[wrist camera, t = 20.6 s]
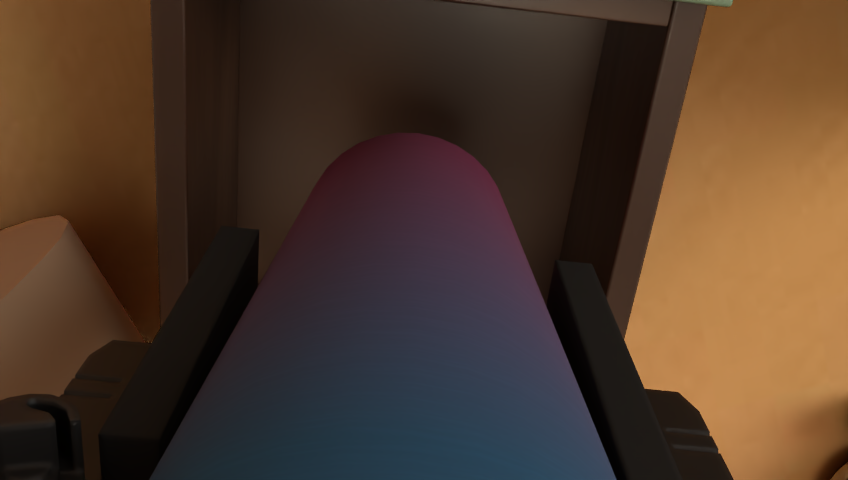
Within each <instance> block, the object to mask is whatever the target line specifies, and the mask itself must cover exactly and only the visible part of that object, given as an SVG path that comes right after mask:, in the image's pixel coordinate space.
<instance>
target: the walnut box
mask: <svg viewBox="0 0 848 480" xmlns="http://www.w3.org/2000/svg"><path fill="white" fill-rule="evenodd" d="M150 4H151V37H152V70H153V103H154V137H155V170H156V203H157V236H158V270H159V303H160V329H161V327H162V325H163V323H164V322H165V320H166V318H167V317H168V315H169V313H170V312H171V310H172V308H173V307H174V305H175V303H176V302H177V300H178V298H179V296H180V295H181V293H182V291H183V290H184V288H185V286H186V285H187V283H188V281H189V280H190V278H191V276H192V274H193V273H194V271H195V269H196V268H197V266H198V264H199V263H200V261H201V259H202V258H203V256H204V254H205V253H206V251H207V249H208V247H209V246H210V244H211V242H212V241H213V239H214V237H215V236H216V234H217V232H218V231H219V229H220V227H221V226H229V227H239V228H249V229H259V260H258V286H259V284H260V282H261V280H262V279H263V277H264V275H265V273H266V272H267V270H268V268H269V266H270V264H271V263H272V261H273V259H274V257H275V256H276V254H277V252H278V250H279V249H280V247H281V245H282V243H283V241H284V240H285V238H286V236H287V234H288V233H289V231H290V229H291V227H292V226H293V224H294V222H295V220H296V218H297V217H298V215H299V213H300V211H301V210H302V208H303V206H304V204H305V202H306V201H307V199H308V197H309V195H310V194H311V192H312V190H313V188H314V187H315V185H316V183H317V182H318V180H319V179H320V177H321V176H322V174H323V173H324V171H325V170H326V168H327V167H328V166H329V165H330V164H331V163H332V162H333V161H334V160H335V159H336V158H338V157H339V156H340V155H341V154H342V153H343V152H345V151H347V150H348V149H350V148H352V147H353V146H355V145H356V144H358V143H360V142H363V141H366V140H368V139H371V138H374V137H376V136H381V135H387V134H393V133H420V134H424V135H429V136H434V137H438V138H441V139H443V140H445V141H448V142H450V143H452V144H455V145H457V146H459V147H460V148H462V149H463V150H464V151H466V152H467V153H469V154H470V155H472V156H473V157H474V158H475V159H476V160H477V161H478V162H479V163H480V164H481V165H482V166H483V167H484V168H485V169H486V170H487V171H488V173H489V174H490V176H491V177H492V179H493V180H494V182H495V184H496V185H497V187H498V189H499V191H500V194H501V196H502V199H503V201H504V204H505V206H506V209H507V211H508V214H509V216H510V219H511V221H512V223H513V226H514V228H515V231H516V233H517V236H518V238H519V241H520V243H521V246H522V248H523V251H524V253H525V255H526V258H527V260H528V263H529V265H530V268H531V270H532V273H533V275H534V278H535V280H536V283H537V285H538V287H539V290H540V292H541V295H542V297H543V300H544V302H545V305H546V304H547V299H548V294H549V289H550V284H551V279H552V274H553V269H554V263H555V260H561V261H570V262H580V263H590V264H592V265H593V268H594V270H595V272H596V275H597V277H598V279H599V282H600V284H601V287H602V289H603V291H604V294H605V296H606V299H607V301H608V303H609V306H610V308H611V310H612V313H613V315H614V318H615V320H616V322H617V325H618V327H619V330H620V332H621V334H622V337H623V339H624V338H625V334H626V330H627V326H628V322H629V318H630V314H631V310H632V306H633V302H634V298H635V294H636V290H637V286H638V282H639V278H640V274H641V270H642V266H643V262H644V258H645V254H646V250H647V246H648V242H649V238H650V234H651V230H652V226H653V222H654V218H655V214H656V210H657V206H658V202H659V198H660V194H661V190H662V186H663V182H664V178H665V174H666V170H667V166H668V162H669V158H670V154H671V150H672V146H673V142H674V138H675V134H676V130H677V126H678V122H679V118H680V114H681V110H682V106H683V102H684V98H685V94H686V90H687V86H688V82H689V78H690V74H691V70H692V66H693V62H694V58H695V54H696V50H697V46H698V42H699V38H700V34H701V30H702V26H703V22H704V18H705V14H706V10H707V6H708V5H703V4H695V3H686V2H678V1H669V0H150Z"/></svg>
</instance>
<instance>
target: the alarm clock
mask: <svg viewBox="0 0 848 480" xmlns="http://www.w3.org/2000/svg"><path fill="white" fill-rule="evenodd" d="M112 340H121V341H131V342H142V343H145V341H144V339H143V338H142V336H141V335H140V333H139V332H138V330H137V328H136V327H135V325H134V324H133V322H132V320H131V319H130V317H129V316H128V314H127V313H126V311H125V309H124V308H123V306H122V305H121V303H120V301H119V300H118V298H117V297H116V295H115V294H114V292H113V290H112V289H111V287H110V286H109V284H108V282H107V281H106V279H105V278H104V276H103V275H102V273H101V271H100V270H99V268H98V267H97V265H96V263H95V262H94V260H93V259H92V257H91V256H90V254H89V252H88V251H87V249H86V248H85V246H84V244H83V243H82V241H81V240H80V238H79V237H78V235H77V233H76V232H75V230H74V229H73V227H72V225H71V224H70V222H69V221H68V220H66V219H65V218H63V217H62V216H60V215H57V216H50V217H44V218H37V219H31V220H29V221H26V222H23V223H20V224H17V225H14V226H11V227H9V228H6V229H3V230H0V401H1V400H3V399H6V398H8V397H14V396H19V395H25V394H51V395H55V396H58V397H60V395H61V394H64V390H65V388H66V387H67V386H68V384H69V383H70V381H71V380H72V378H75V374H76V373H77V371H78V370H79V369H80V367H81V366H82V364H83V363H84V361H85V360H86V359H87V357H88V356H89V355H90V354H92V353H93V352H95V351H96V350H98V349H100V348H101V347H103V346H104V345H106V344H107V343H109V342H110V341H112Z"/></svg>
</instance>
